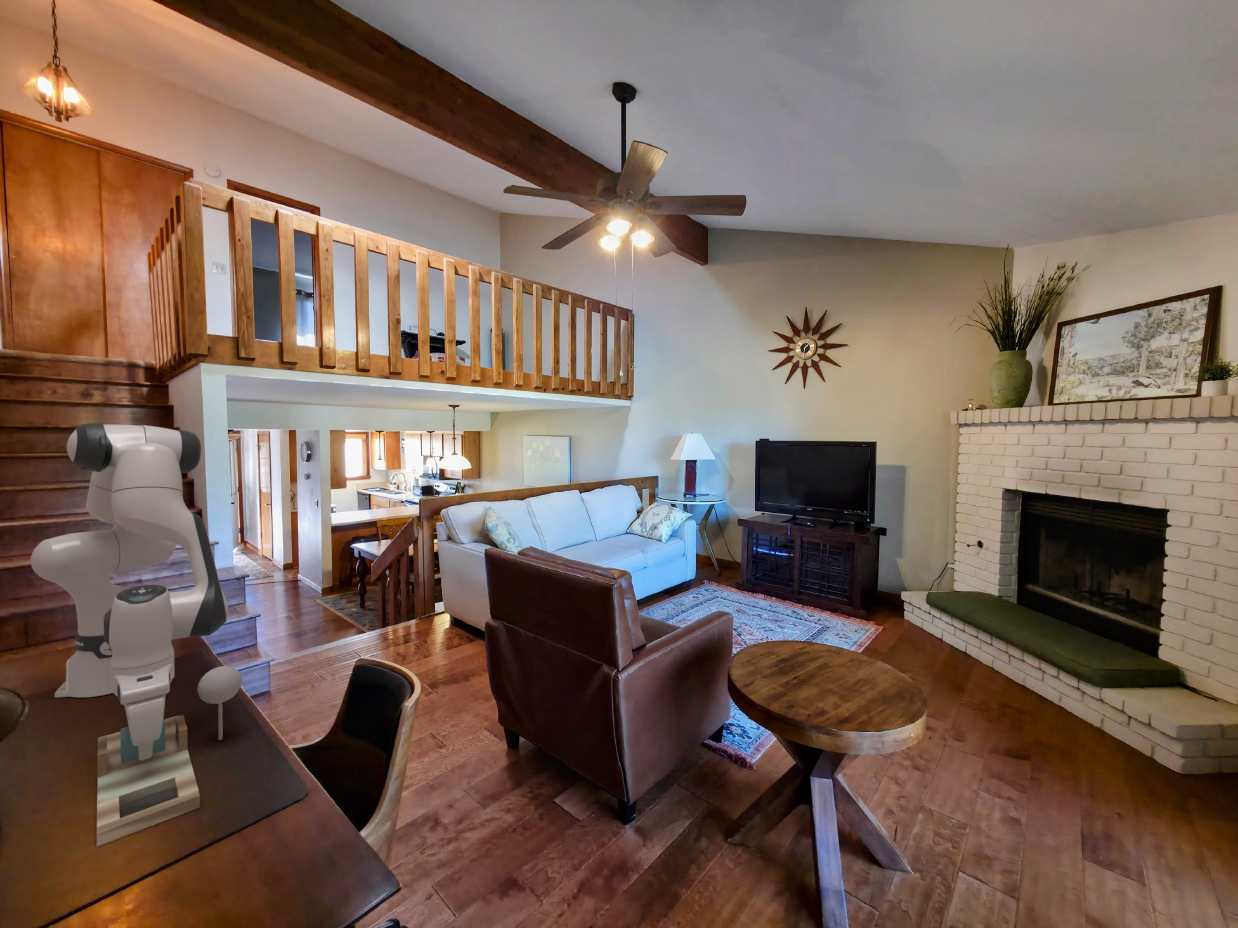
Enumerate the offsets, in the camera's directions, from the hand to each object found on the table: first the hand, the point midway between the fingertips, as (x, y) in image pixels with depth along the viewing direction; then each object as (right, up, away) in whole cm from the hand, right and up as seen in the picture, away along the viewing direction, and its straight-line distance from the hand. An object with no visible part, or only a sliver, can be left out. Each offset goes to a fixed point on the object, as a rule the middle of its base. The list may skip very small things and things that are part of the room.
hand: (144, 746), depth 95 cm
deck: (+3, -4, -3) cm, 5 cm away
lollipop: (+8, -4, +9) cm, 12 cm away
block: (-1, -2, +1) cm, 2 cm away
